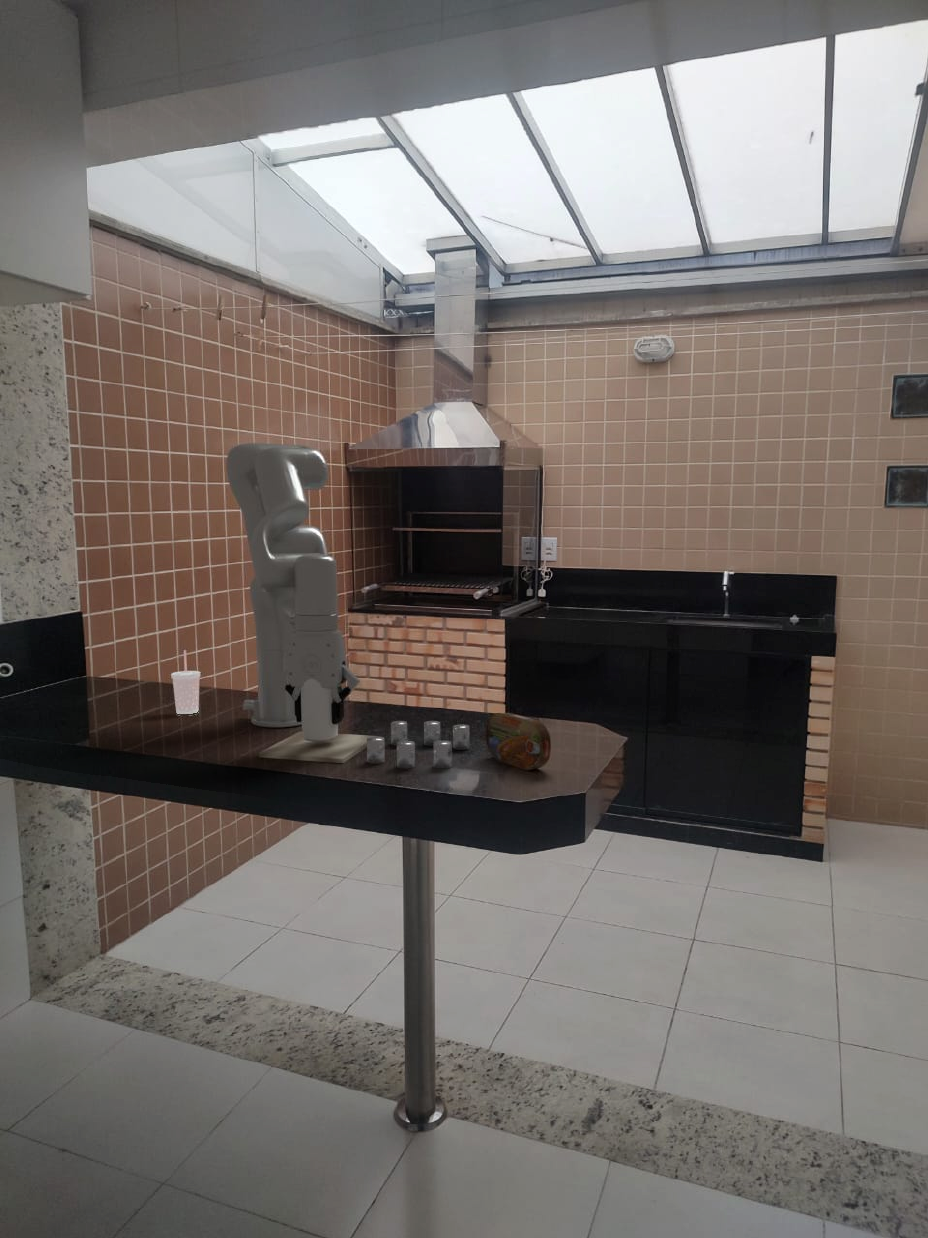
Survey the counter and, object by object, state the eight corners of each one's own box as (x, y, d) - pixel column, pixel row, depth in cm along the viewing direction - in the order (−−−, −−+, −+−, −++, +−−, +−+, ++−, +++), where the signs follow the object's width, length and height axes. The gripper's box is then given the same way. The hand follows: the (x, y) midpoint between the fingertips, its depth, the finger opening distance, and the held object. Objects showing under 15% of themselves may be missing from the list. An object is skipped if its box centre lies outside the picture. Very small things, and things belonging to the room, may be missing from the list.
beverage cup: (177, 710, 181) (175, 648, 180) (205, 710, 182) (203, 648, 180) (169, 716, 175) (166, 652, 174) (197, 716, 176) (195, 652, 174)
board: (259, 757, 143) (259, 752, 143) (300, 735, 158) (300, 731, 158) (343, 763, 139) (343, 758, 139) (377, 740, 154) (377, 736, 154)
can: (306, 733, 152) (304, 669, 151) (340, 733, 152) (339, 669, 150) (298, 742, 145) (296, 676, 144) (334, 742, 145) (332, 676, 144)
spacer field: (361, 765, 138) (360, 742, 137) (397, 739, 155) (396, 718, 154) (446, 771, 134) (446, 748, 133) (473, 744, 151) (473, 723, 151)
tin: (484, 755, 143) (483, 709, 143) (498, 753, 145) (498, 706, 144) (539, 776, 131) (539, 725, 130) (554, 773, 133) (554, 722, 132)
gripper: (263, 625, 145) (266, 723, 147) (353, 627, 141) (355, 729, 142) (283, 620, 152) (286, 714, 154) (369, 622, 148) (371, 719, 150)
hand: (319, 720), depth 148 cm, fingers closed on can, 6 cm apart
